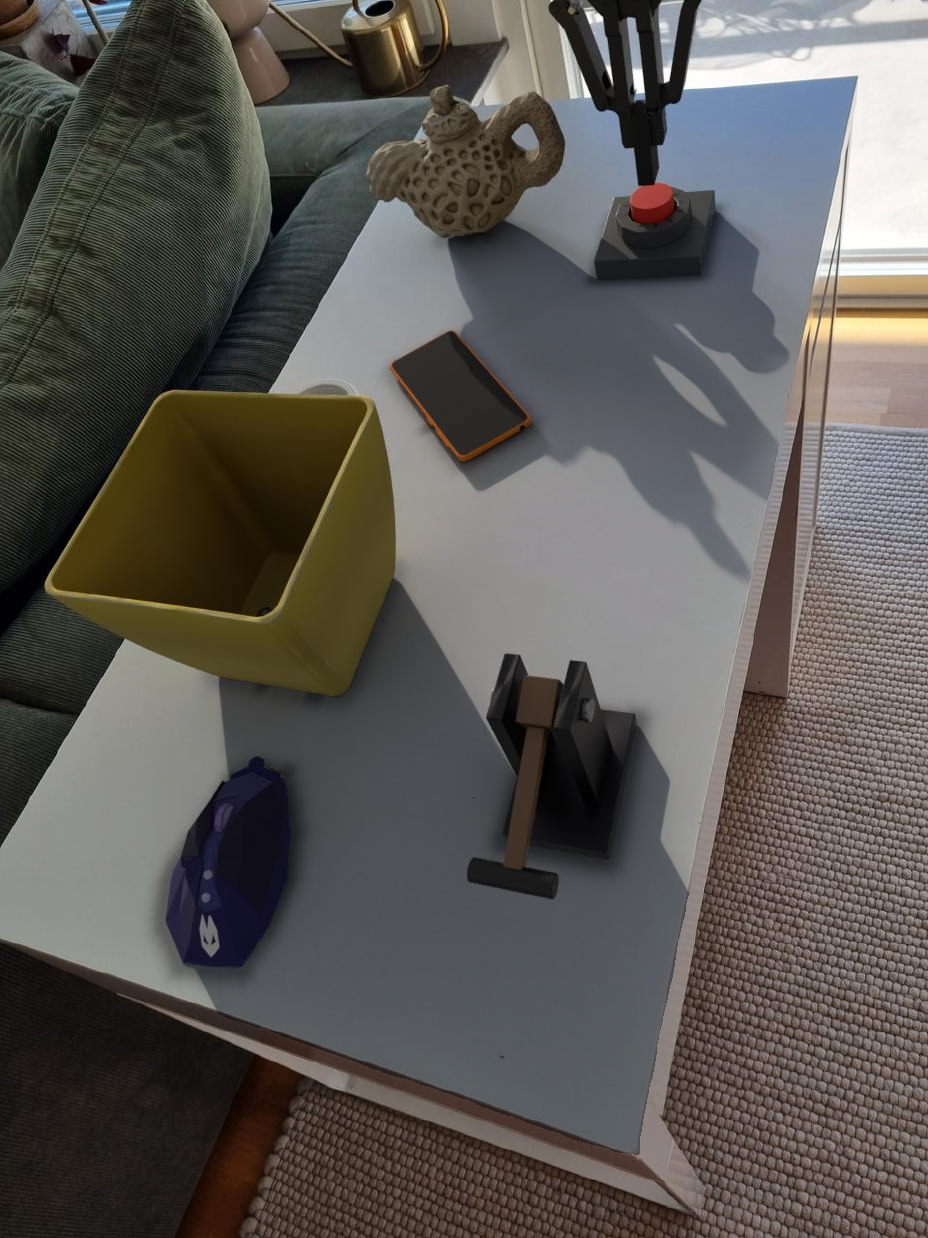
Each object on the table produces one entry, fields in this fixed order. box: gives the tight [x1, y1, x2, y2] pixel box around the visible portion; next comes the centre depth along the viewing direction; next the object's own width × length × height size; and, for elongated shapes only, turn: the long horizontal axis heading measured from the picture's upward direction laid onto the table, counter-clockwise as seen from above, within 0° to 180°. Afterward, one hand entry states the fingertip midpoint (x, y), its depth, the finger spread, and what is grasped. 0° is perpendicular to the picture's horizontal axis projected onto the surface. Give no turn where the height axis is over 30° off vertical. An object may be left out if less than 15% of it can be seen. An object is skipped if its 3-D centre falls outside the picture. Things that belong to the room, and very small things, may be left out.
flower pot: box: [44, 389, 397, 697], centre depth 71 cm, size 19×19×17 cm
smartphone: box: [389, 329, 532, 462], centre depth 88 cm, size 8×17×1 cm, turn 27°
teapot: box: [365, 84, 566, 239], centre depth 96 cm, size 21×12×15 cm, turn 82°
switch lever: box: [466, 674, 564, 900], centre depth 54 cm, size 12×5×2 cm, turn 164°
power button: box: [630, 182, 675, 224], centre depth 89 cm, size 4×4×2 cm
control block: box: [593, 186, 717, 281], centre depth 91 cm, size 10×10×4 cm
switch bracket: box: [485, 652, 638, 860], centre depth 59 cm, size 10×7×13 cm
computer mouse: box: [165, 755, 292, 968], centre depth 66 cm, size 9×15×4 cm, turn 172°
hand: (648, 176), depth 87 cm, fingers closed
